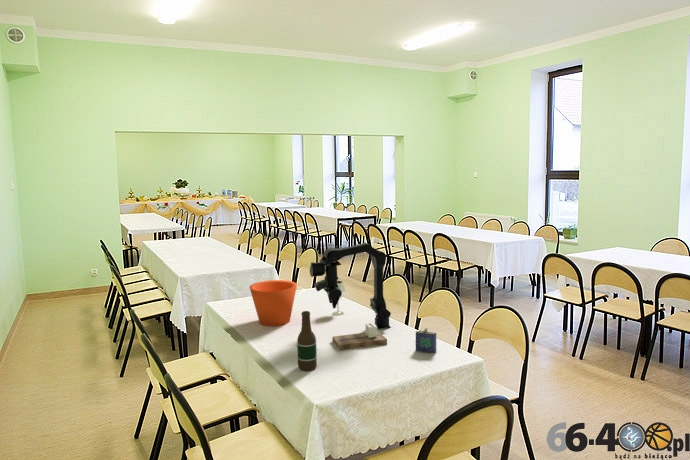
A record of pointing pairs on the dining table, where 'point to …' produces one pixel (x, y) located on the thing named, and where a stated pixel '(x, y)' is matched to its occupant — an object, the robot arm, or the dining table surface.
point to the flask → (426, 341)
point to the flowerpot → (273, 301)
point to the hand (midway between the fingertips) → (332, 305)
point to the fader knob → (371, 330)
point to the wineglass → (341, 287)
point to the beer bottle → (306, 345)
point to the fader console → (358, 341)
